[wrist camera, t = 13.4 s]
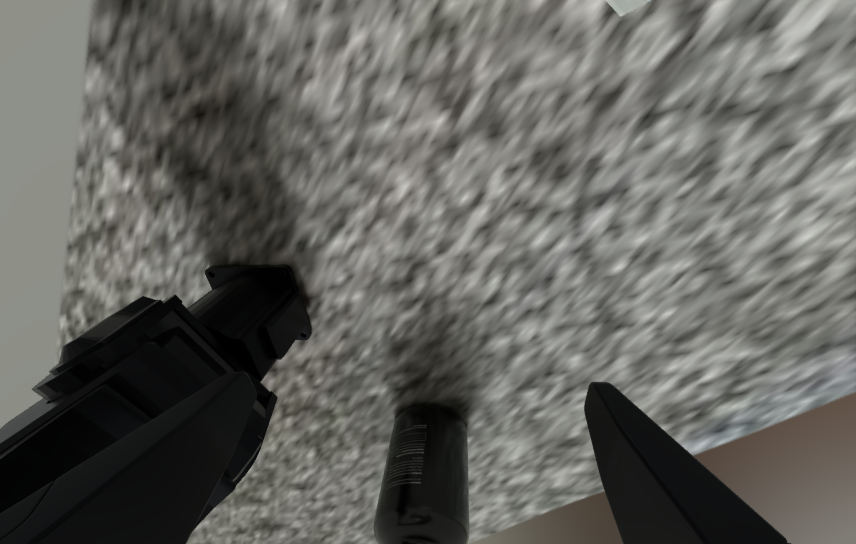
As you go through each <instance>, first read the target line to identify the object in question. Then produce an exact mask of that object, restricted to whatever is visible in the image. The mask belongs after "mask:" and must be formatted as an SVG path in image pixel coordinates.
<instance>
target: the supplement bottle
mask: <svg viewBox="0 0 856 544" xmlns="http://www.w3.org/2000/svg"><path fill="white" fill-rule="evenodd" d="M374 533H375V538H376V541H377V543H378V544H468V541H469V486H468V442H467V429H466V426H465V424H464V422H463V420H462V419H461V418H460V417H459V416H458V415H457V414H456V413H455V412H453V411H451V410H449V409H447V408H445V407H442V406H438V405H432V404H421V405H415V406H412V407H410V408H407V409H406V410H404V411H403V412H402V413H400V414H399V416H398V417H397V419H396V420H395V423H394V427H393V431H392V436H391V441H390V446H389V450H388V455H387V460H386V465H385V470H384V475H383V480H382V485H381V490H380V495H379V500H378V505H377V510H376V515H375V521H374Z"/></svg>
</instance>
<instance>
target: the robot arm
mask: <svg viewBox="0 0 856 544" xmlns="http://www.w3.org/2000/svg"><path fill="white" fill-rule="evenodd" d="M282 270H283V271H285V272H286V274H285V273H283V271H282ZM213 273H214V274H213ZM205 275H206V277H207V279H208V281H209V283H210V286H211V288H212V290H211V291H210V292H208V293H207V294H206V295H204V296H203V297H202V298H200V299H199V300H198V301H196V302H195V303H194V304H192V305H191V306H190V307H188V308H186V307H185V306H184V305H183V304H182V301H181V300H180V299H179V298H178V297H177V296H176V295H173V296H172V297H170V298H168V299H166V300H164V301H161V300H154V299H151V298H148V297H144V296H142V297H141V298H139V299H137V300H135V301H134V302H132V303H130V304H129V305H127V306H125V307H124V308H122V309H121V310H119V311H117V312H116V313H114V314H112V315H111V316H109V317H108V318H106V319H104V320H103V321H101V322H100V323H98V324H97V325H95V326H93V327H92V328H90V329H89V330H87V331H86V332H84V333H83V334H81V335H80V336H78V337H77V338H75V339H74V340H72V341H71V342H69V343H68V344H66V345H65V346H63V348H62V352H61V357H60V361H59V364H57V365H56V366H55V367H54V368H52V369H51V370H50V371H49V372H50V373H51V374H49V375H48V376H47V377H46V378H44V379H43V380H42V381H41V382H39V383H38V384H37V385H36V386H35V387H33V388H32V390H33V391H34V392H36V393H37V394H39V395H40V396H42V397H43V399H41V400H40V401H38V402H37V403H35V404H34V405H32V406H31V407H29V408H28V409H27V410H25V411H24V412H22V413H21V414H19V415H18V416H16V417H15V418H14V419H12V420H11V421H9V422H8V423H6V424H5V425H4V426H3V427H2V428H1V429H0V544H186V542H187V540H188V539H189V537H190V535H191V533H192V531H193V530H194V529H195V528H196V527H197V526H198V524H199V523H200V522H201V521H202V520H203V519H204V518H205V517H206V516H207V515H208V514H209V513H210V512H211V511H212V510H213V508H214V507H216V506H217V505H218V504H219V503H220V502H221V501H222V500H224V499H225V498H226V497H227V496H228V495H229V494H230V493H231V492H233V490H234V489H235V487H236V485H237V484H238V483H239V482H240V481H241V479H242V478H243V477H244V476H245V475H246V473H247V472H248V471H249V469H250V468H251V466H252V465H253V463H254V461H255V460H256V458H257V456H258V454H259V451H260V449H261V446H262V443H263V440H264V437H265V434H266V431H267V428H268V425H269V422H270V419H271V416H272V413H273V410H274V407H275V404H276V401H277V396H276V395H275V394H274V393H273V392H272V391H271V392H270V391H269V390H268V389H267V388H266V387H265V386H264V385H263V384H262V383H261V381H262V379H263V378H264V377H265V375H266V374H267V372H268V371H269V370H270V368H271V367H272V365H273V364H274V363H275V361H276V360H277V359H279V360H281V359H282V358H283V357H284V356H285V354H286V353H287V351H288V350H289V348H290V347H291V346H292V344H293V343H294V341H295V340H307V339H309V338H310V336H311V334H312V332H311V328H310V325H309V322H308V321H309V319H308V316H307V313H306V310H305V307H304V303H303V300H302V297H301V294H300V293H299V290H298V287H297V284H296V281H295V278H294V275H293V271H292V269H291V268H290V267H289V266H287V265H237V266H211V267H209V268H208V269H206V270H205ZM304 333H305V334H304ZM584 411H585V416H586V421H587V425H588V429H589V433H590V437H591V441H592V445H593V449H594V453H595V457H596V461H597V466H598V470H599V473H600V477H601V481H602V484H603V487H604V490H605V493H606V496H607V499H608V501H609V504H610V507H611V510H612V513H613V516H614V519H615V521H616V524H617V527H618V530H619V533H620V535H621V538H622V541H623V543H624V544H791V543H787V540H786V538H785V537H784V536H783V535H782V534H780V533H779V532H778V531H777V530H776V529H775V528H774V527H772V526H771V525H770V524H769V523H768V522H767V521H766V520H764V519H763V518H762V517H761V516H760V515H759V514H758V513H757V512H755V511H754V510H753V509H752V508H751V507H750V506H749V505H748V504H747V503H745V502H744V501H743V500H742V499H741V498H740V497H739V496H738V495H736V494H735V493H734V492H733V491H732V490H731V489H730V488H728V487H727V486H726V485H725V484H724V483H723V482H722V481H720V480H719V479H718V478H717V477H716V476H715V475H714V474H713V473H711V472H710V471H709V470H708V469H707V468H706V467H705V466H704V465H702V464H701V463H700V462H699V461H698V460H697V459H696V458H695V457H693V456H692V455H691V454H690V453H689V452H688V451H687V450H685V449H684V448H683V447H682V446H681V445H680V444H679V443H678V442H676V441H675V440H674V439H673V438H672V437H671V436H670V435H669V434H667V433H666V432H665V431H664V430H663V429H662V428H661V427H659V426H658V425H657V424H656V423H655V422H654V421H653V420H652V419H650V418H649V417H648V416H647V415H646V414H645V413H644V412H643V411H641V410H640V409H639V408H638V407H637V406H636V405H635V404H633V403H632V402H631V401H630V400H629V399H628V398H627V397H626V396H624V395H623V394H622V393H621V392H620V391H619V390H618V389H616V388H615V387H614V386H613V385H612V384H610V383H608V382H591V383H590V385H589V388H588V392H587V396H586V400H585V405H584Z"/></svg>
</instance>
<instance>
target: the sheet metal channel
mask: <svg viewBox="0 0 856 544" xmlns="http://www.w3.org/2000/svg"><path fill="white" fill-rule="evenodd" d="M606 1H607V3H608V4H609V5H610V6H611V7H612V8H613V9H614V10H615V11H616V13H617V14H618V15H619V16H620V17H621V16H623V15H625V14H627V13H628V12H630V11H632V10H634V9H636V8H638V7H640V6H642V5H644V4H645V3H647V2H649V1H651V0H606Z"/></svg>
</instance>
